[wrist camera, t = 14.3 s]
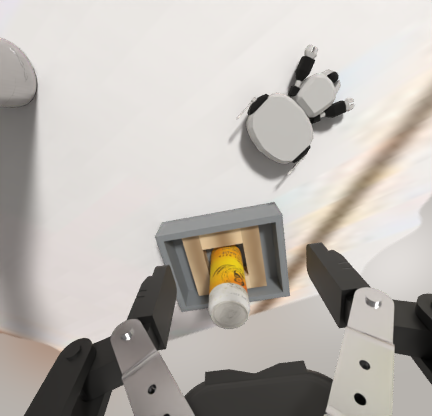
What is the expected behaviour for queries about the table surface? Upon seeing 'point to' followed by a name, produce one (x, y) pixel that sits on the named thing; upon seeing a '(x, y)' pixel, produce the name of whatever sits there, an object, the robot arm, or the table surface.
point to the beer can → (228, 288)
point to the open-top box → (228, 220)
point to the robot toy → (294, 113)
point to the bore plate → (200, 243)
